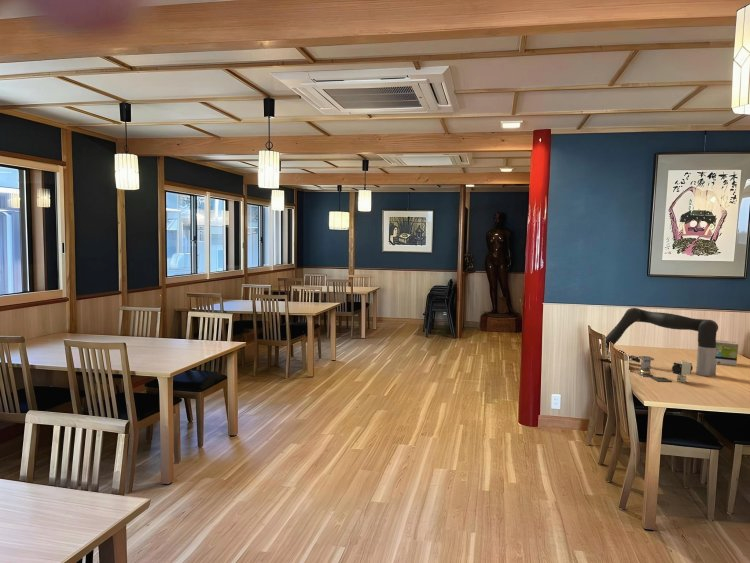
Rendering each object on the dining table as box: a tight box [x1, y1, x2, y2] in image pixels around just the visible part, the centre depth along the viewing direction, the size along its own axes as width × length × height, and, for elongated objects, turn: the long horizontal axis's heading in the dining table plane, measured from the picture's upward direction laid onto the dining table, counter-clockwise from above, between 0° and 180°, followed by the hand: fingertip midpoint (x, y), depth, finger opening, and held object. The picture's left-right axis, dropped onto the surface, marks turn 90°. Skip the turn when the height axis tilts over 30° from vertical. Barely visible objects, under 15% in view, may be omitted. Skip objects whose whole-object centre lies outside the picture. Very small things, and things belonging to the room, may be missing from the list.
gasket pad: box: [649, 376, 673, 383], centre depth 310 cm, size 8×8×1 cm
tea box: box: [715, 339, 739, 366], centre depth 360 cm, size 15×10×15 cm, turn 68°
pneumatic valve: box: [671, 360, 694, 383], centre depth 307 cm, size 6×12×12 cm, turn 115°
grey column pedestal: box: [637, 355, 655, 378], centre depth 320 cm, size 6×6×11 cm
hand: (633, 361), depth 331 cm, fingers open, 8 cm apart
